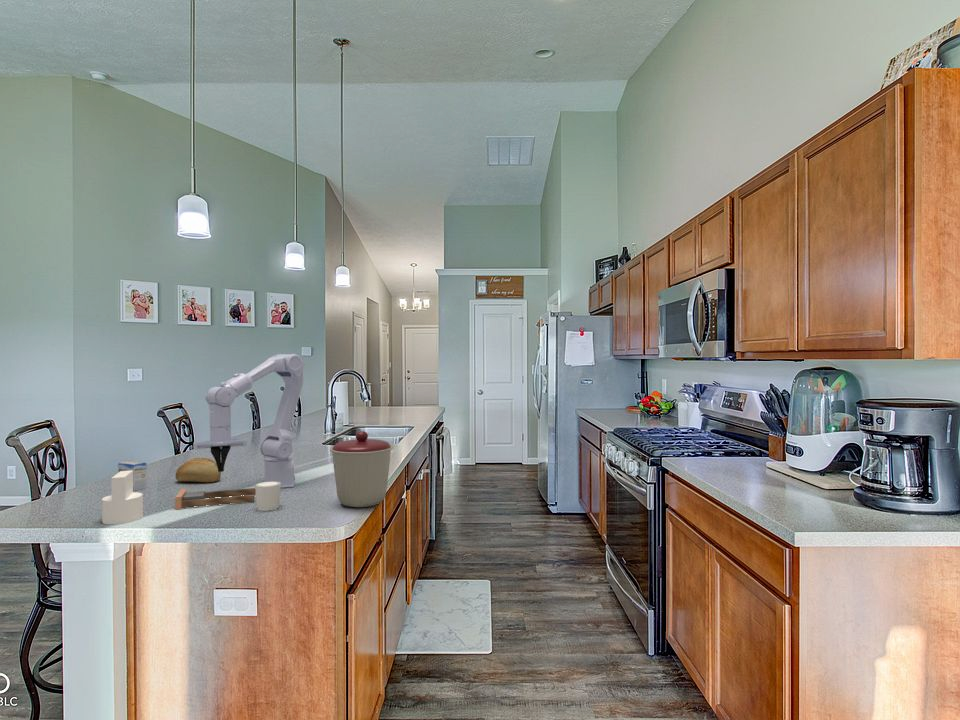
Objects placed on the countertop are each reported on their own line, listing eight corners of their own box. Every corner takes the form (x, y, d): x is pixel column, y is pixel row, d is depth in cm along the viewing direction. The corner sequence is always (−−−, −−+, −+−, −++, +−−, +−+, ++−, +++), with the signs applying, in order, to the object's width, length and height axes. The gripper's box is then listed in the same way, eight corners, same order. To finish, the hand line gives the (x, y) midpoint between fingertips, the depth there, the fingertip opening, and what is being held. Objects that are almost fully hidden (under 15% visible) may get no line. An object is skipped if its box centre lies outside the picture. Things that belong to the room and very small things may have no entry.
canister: (380, 513, 147) (379, 436, 147) (318, 510, 151) (318, 435, 151) (401, 496, 165) (401, 427, 165) (346, 493, 168) (345, 426, 168)
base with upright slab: (107, 516, 146) (107, 472, 146) (146, 512, 149) (145, 469, 149) (97, 526, 137) (97, 479, 137) (138, 522, 141) (138, 476, 140)
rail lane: (255, 493, 169) (255, 482, 169) (254, 502, 159) (254, 490, 159) (181, 500, 161) (181, 488, 161) (175, 509, 152) (175, 497, 152)
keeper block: (204, 501, 162) (204, 491, 162) (202, 506, 156) (202, 495, 156) (186, 502, 160) (186, 492, 160) (183, 507, 154) (183, 497, 154)
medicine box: (117, 489, 175) (117, 462, 175) (130, 486, 179) (130, 460, 179) (133, 491, 172) (133, 464, 172) (147, 488, 176) (146, 462, 176)
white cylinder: (256, 513, 148) (256, 487, 148) (254, 506, 154) (253, 482, 154) (282, 509, 151) (282, 484, 151) (279, 503, 158) (279, 479, 157)
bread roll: (184, 478, 191) (184, 456, 191) (227, 478, 191) (226, 456, 191) (169, 485, 181) (169, 461, 181) (213, 485, 181) (213, 461, 181)
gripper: (191, 429, 157) (192, 476, 157) (246, 426, 162) (246, 471, 162) (194, 426, 163) (195, 471, 164) (246, 423, 169) (247, 467, 169)
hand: (221, 471), depth 163 cm, fingers closed
